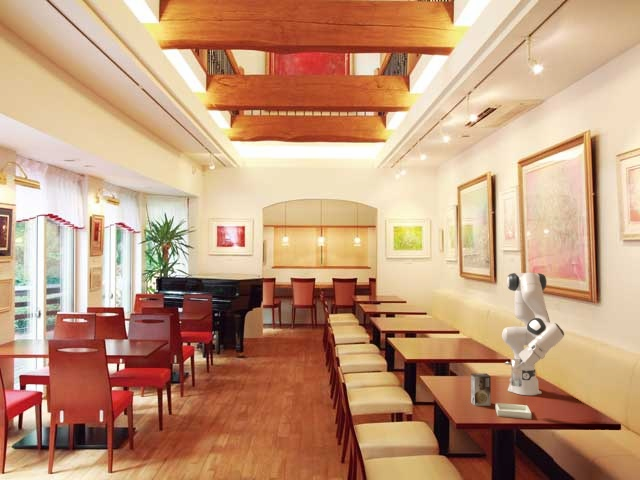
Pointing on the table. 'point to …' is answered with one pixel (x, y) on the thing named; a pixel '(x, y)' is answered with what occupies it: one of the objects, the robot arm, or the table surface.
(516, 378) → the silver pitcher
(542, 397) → the table surface
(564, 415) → the table surface
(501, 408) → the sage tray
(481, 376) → the coffee box
